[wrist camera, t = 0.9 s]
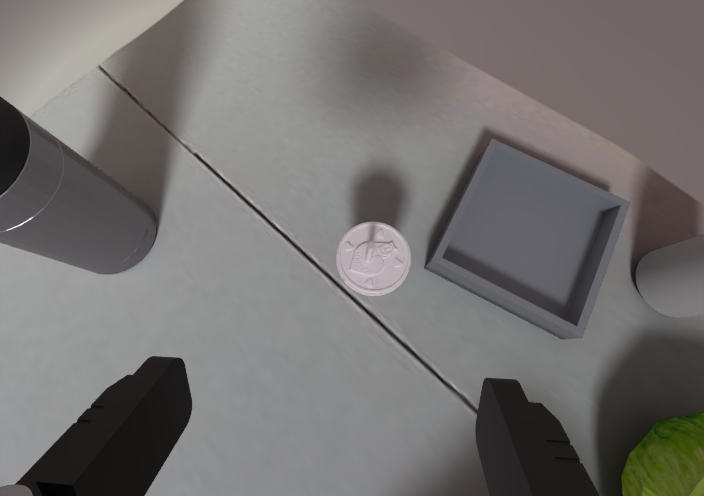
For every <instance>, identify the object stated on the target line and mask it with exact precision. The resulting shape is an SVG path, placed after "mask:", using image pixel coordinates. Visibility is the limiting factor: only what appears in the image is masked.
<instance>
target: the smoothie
mask: <svg viewBox="0 0 704 496" xmlns="http://www.w3.org/2000/svg"><path fill="white" fill-rule="evenodd" d="M336 262H337V269H338V271H339V274H340V276H341V278H342V279H343V280H344V282H345V283H346V284H347V285H348V286H349V287H350V288H352V289H353V290H354V291H356V292H358V293H360V294H363V295H370V296H378V295H384V294H387V293H389V292H392V291H393V290H395V289H396V288H397V287H399V286H400V285H401V283H402V282H403V281H404V280H405V278H406V276H407V274H408V271H409V268H410V264H411V252H410V248H409V245H408V243H407V241H406V239H405V238H404V236H403V235H402V234H401V233H400V232H399V231H398V230H397V229H395V228H394V227H392V226H390V225H388V224H385V223H382V222H374V221H372V222H364V223H361V224H358V225H356V226H354V227H353V228H351V229H350V230H349V231H348V232H347V233H346V234H345V235H344V236H343V238H342V239H341V241H340V243H339V246H338V249H337V256H336Z"/></svg>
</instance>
